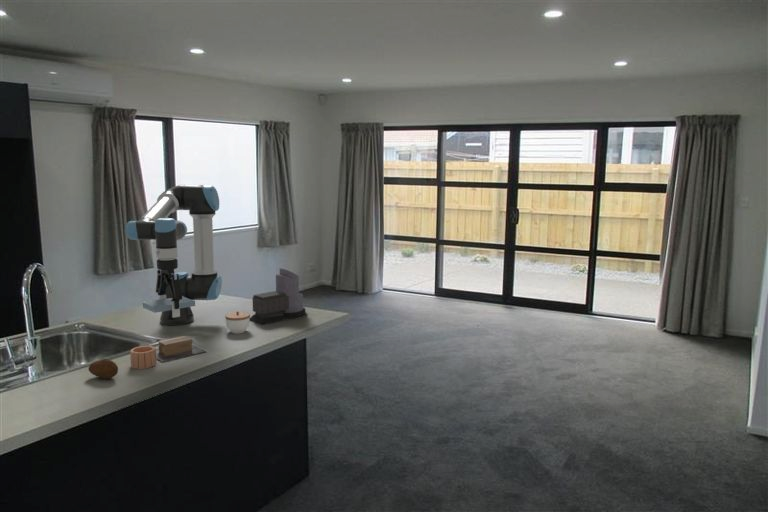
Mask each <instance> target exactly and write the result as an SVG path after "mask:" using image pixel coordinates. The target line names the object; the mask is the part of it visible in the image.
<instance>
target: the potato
mask: <svg viewBox="0 0 768 512" xmlns="http://www.w3.org/2000/svg"><path fill="white" fill-rule="evenodd" d="M88 371H89V373H90V374H92V375H94V376H95V377H97V378H101V379H105V380H109V379H112V378H114V377H115V376H116V375H117V374H118V372H119V367H118V365H117V364H116V362H114V361H113V360H111V359H107V358H102V359H99V360H96V361H94V362H92V363H91V364H89V367H88Z"/></svg>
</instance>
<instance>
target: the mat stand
mask: <svg viewBox="0 0 768 512" xmlns="http://www.w3.org/2000/svg"><path fill="white" fill-rule="evenodd" d="M157 342H158V348H156V361H157V360H158V362H161V363H166V362H170V361H174V359H175V360H179V359H182V358H183V357H184V358H187V357H191V356H195V355H201V354H204V353H207V350H205V349H203V348H201V347H200V346H197V345H195V344H193V339H192V338H191V337H188V336H186V335H182V336H178V337H172V338H167V339H163V340H159V341H157ZM184 358H183V359H184Z"/></svg>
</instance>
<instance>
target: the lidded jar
mask: <svg viewBox="0 0 768 512" xmlns="http://www.w3.org/2000/svg"><path fill="white" fill-rule="evenodd" d="M224 317H225V324H226V328H227V329H228V330H229V331H230V333H232V334H243V333H245V332H246V331H247V329H249V326H250V323H251V321H250V318H251V314H250V313H249V312H246V311H239V310H237V311H234V312H233V311H232V312H228V313H227V314H226V315H225V316H224Z"/></svg>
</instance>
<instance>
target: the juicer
mask: <svg viewBox="0 0 768 512" xmlns="http://www.w3.org/2000/svg"><path fill="white" fill-rule="evenodd" d="M252 312H254V314H252V315H251V316H250V323H255V324H256V325H257V324H258V325H260V326H264V325H269V324H274V323H277V322H282V321H286V320H296V318H297V319H300V318H304V317H307V316H309V313H308V312H306V307H304V295H303V293H300V276H299V275H298V274H296V273H294V272H293V271H291V270H288V269H285V268H282V267H280V268H279V273H277V274H275V290H273V291H268V292H263V293H256V294H253V295H252ZM307 313H308V314H307ZM306 315H307V316H306Z"/></svg>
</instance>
